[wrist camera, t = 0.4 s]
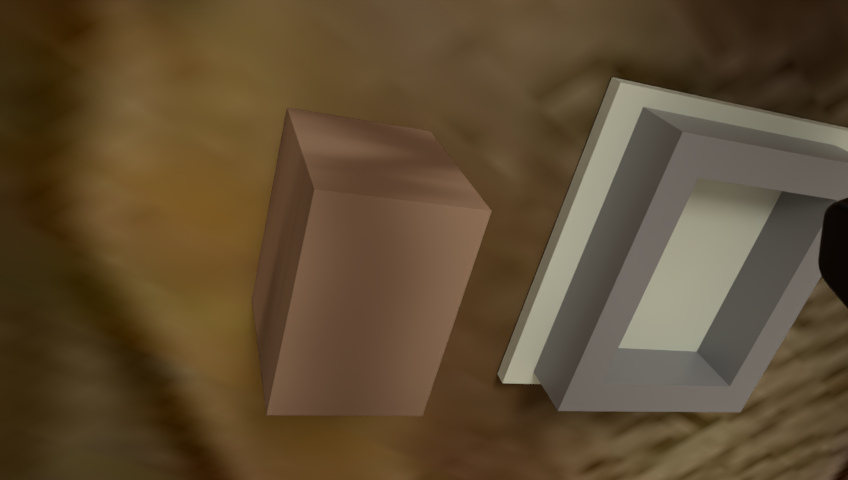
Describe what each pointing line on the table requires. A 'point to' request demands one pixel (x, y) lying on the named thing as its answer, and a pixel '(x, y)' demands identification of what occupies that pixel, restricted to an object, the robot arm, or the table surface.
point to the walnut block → (361, 267)
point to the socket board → (677, 254)
